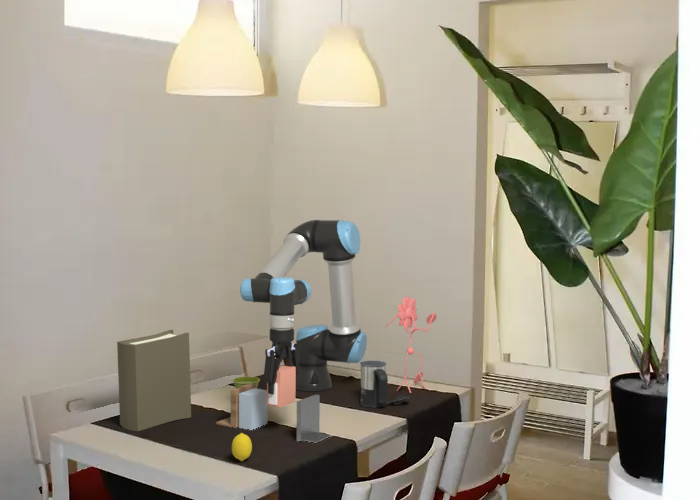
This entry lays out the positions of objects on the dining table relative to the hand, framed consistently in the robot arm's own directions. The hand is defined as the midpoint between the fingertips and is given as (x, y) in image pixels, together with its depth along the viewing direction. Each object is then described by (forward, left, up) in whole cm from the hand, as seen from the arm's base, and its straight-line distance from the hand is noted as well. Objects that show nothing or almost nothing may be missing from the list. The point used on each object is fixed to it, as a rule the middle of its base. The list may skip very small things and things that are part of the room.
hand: (281, 400), depth 254 cm
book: (+14, -40, -10) cm, 43 cm away
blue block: (0, -11, -10) cm, 15 cm away
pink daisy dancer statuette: (-70, +6, -10) cm, 71 cm away
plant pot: (-19, -29, -10) cm, 36 cm away
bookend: (0, +12, -10) cm, 16 cm away
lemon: (+28, +7, -10) cm, 30 cm away
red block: (0, 0, -1) cm, 1 cm away
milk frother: (-46, +11, -10) cm, 48 cm away
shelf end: (0, -18, -10) cm, 20 cm away
